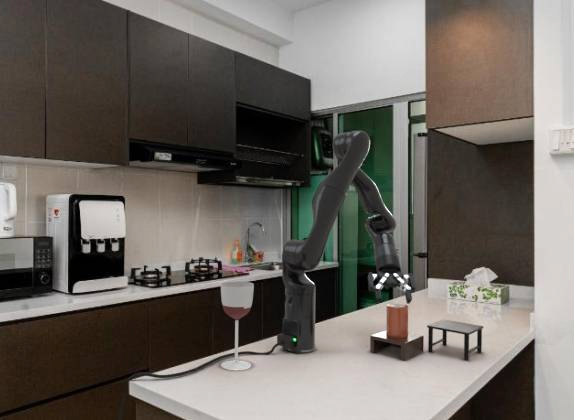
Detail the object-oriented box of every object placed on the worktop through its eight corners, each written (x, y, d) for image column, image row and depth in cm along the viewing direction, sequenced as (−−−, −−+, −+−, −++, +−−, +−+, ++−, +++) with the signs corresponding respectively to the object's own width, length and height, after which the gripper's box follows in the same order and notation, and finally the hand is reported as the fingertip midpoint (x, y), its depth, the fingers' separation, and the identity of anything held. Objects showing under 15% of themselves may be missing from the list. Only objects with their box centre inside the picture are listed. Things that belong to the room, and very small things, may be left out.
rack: (468, 361, 135) (468, 333, 135) (426, 351, 143) (427, 325, 143) (483, 352, 143) (483, 326, 143) (442, 344, 152) (443, 319, 152)
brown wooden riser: (404, 360, 134) (405, 343, 134) (370, 352, 142) (370, 335, 142) (423, 352, 143) (423, 335, 143) (389, 344, 151) (389, 328, 151)
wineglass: (257, 362, 131) (259, 283, 131) (243, 373, 122) (244, 288, 122) (229, 357, 135) (230, 280, 135) (213, 368, 126) (214, 285, 126)
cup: (402, 339, 138) (402, 308, 138) (382, 335, 143) (382, 305, 142) (411, 335, 142) (412, 305, 142) (392, 331, 147) (392, 302, 147)
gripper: (366, 252, 155) (372, 294, 144) (411, 253, 154) (421, 295, 143) (363, 267, 161) (369, 308, 149) (406, 268, 159) (416, 309, 148)
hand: (394, 301), depth 146 cm, fingers open, 8 cm apart
